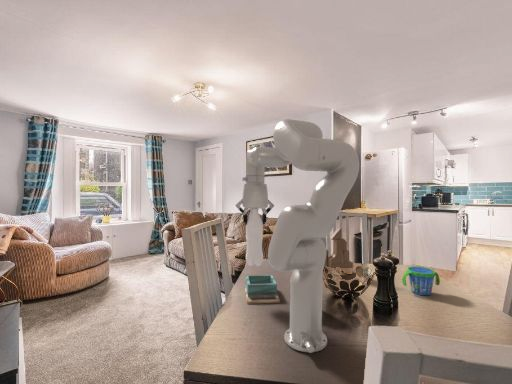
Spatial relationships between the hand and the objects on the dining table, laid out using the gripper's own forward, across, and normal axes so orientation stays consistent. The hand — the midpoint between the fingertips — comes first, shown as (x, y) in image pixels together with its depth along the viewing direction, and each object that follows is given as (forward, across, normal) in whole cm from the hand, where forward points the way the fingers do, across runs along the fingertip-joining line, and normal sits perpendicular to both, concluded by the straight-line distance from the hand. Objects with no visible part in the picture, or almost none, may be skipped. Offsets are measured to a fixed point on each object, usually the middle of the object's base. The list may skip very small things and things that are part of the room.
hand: (254, 223), depth 110 cm
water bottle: (+17, 0, 0) cm, 17 cm away
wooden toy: (+31, +48, +27) cm, 63 cm away
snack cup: (+31, +73, -3) cm, 80 cm away
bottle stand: (+31, +4, +3) cm, 31 cm away
